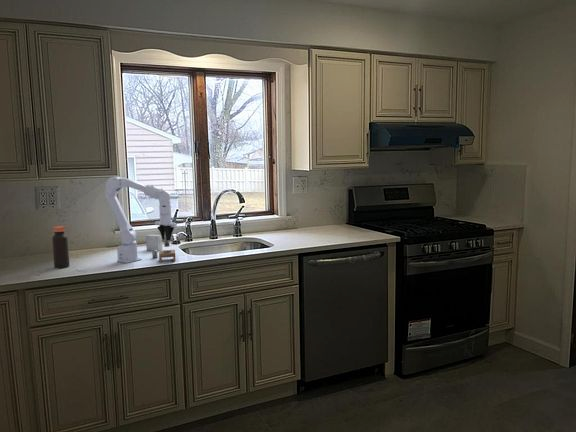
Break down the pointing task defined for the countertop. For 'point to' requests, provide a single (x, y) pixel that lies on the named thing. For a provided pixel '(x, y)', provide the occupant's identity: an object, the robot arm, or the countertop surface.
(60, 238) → the bottle
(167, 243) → the tall pin
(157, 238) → the medicine box
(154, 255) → the short pin
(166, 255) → the hole bridge
